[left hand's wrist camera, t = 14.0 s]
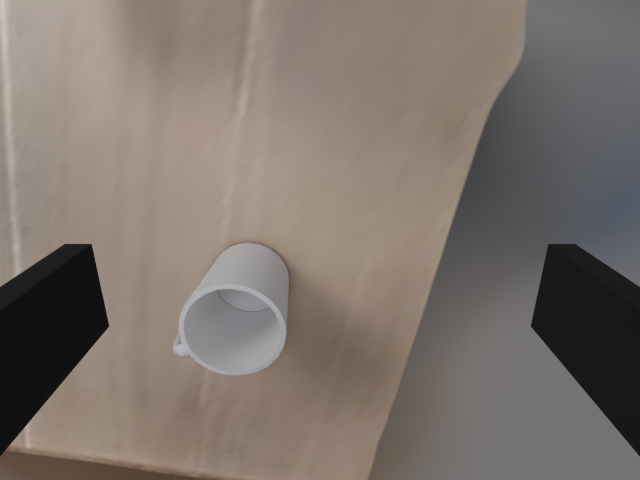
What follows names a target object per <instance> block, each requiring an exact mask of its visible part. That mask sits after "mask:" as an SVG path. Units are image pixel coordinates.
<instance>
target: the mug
mask: <svg viewBox="0 0 640 480" xmlns="http://www.w3.org/2000/svg"><path fill="white" fill-rule="evenodd" d="M288 292H289V273H288V269H287V266H286V264H285V262H284V260H283V259H282V258H281V257H280V255H279V254H278V253H276V252H275V251H274V250H272V249H271V248H269V247H267V246H265V245H262V244H259V243H253V242H245V243H238V244H236V245H233V246H230V247H229V248H227V249H226V250H224V251H223V252H222V253H221V254H220V256H219V257H218V258H217V259H216V261H215V262H214V264H213V265H212V267H211V268H210V269H209V271H208V272H207V274H206V275H205V277H204V278H203V279H202V281H201V282H200V284H199V285H198V287H197V288H196V289H195V291H194V292H193V294H192V295H191V297H190V298H189V299H188V301H187V302H186V304H185V305H184V307H183V310H182V312H181V315H180V317H179V329H178V330H179V334H178V336H177V337H176V339H175V341H174V344H173V350H174V353H175V354H177V355H178V356H188V355H190V356H191V357H192V358H193V359H194V360H195V361H196V362H198V363H199V364H201V365H202V366H204V367H205V368H207V369H209V370H212V371H215V372H217V373H220V374H226V375H233V376H236V375H248V374H251V373H255V372H258V371H261V370H262V369H264V368H266V367H267V366H269V365H271V364H272V363H273V361H274V360H275V359H276V358H277V357H278V356H279V355H280V353H281V351H282V349H283V347H284V344H285V338H286V332H287V313H288Z"/></svg>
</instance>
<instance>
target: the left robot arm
mask: <svg viewBox="0 0 640 480" xmlns="http://www.w3.org/2000/svg"><path fill="white" fill-rule="evenodd" d="M108 327H109V323H108V319H107V314H106V309H105V305H104V300H103V295H102V291H101V286H100V281H99V277H98V272H97V267H96V263H95V258H94V253H93V249H92V244H64V245H63V246H61V247H60V248H58V249H57V250H55V251H54V252H52V253H51V254H49V255H48V256H46V257H45V258H43V259H42V260H40V261H39V262H37V263H36V264H34V265H33V266H31V267H30V268H28V269H27V270H25V271H24V272H22V273H21V274H19V275H18V276H16V277H15V278H13V279H12V280H10V281H9V282H7V283H6V284H4V285H3V286H1V287H0V456H1V455H2V454H3V452H4V451H5V450H6V449H7V448H8V446H9V445H10V444H11V443H12V442H13V440H14V439H15V438H16V437H17V436H18V434H19V433H20V432H21V431H22V430H23V428H24V427H25V426H26V425H27V424H28V422H29V421H30V420H31V419H32V418H33V417H34V415H35V414H36V413H37V412H38V411H39V409H40V408H41V407H42V406H43V405H44V403H45V402H46V401H47V400H48V399H49V397H50V396H51V395H52V394H53V393H54V391H55V390H56V389H57V388H58V387H59V385H60V384H61V383H62V382H63V381H64V380H65V378H66V377H67V376H68V375H69V374H70V372H71V371H72V370H73V369H74V368H75V366H76V365H77V364H78V363H79V362H80V360H81V359H82V358H83V357H84V356H85V354H86V353H87V352H88V351H89V350H90V348H91V347H92V346H93V345H94V344H95V343H96V341H97V340H98V339H99V338H100V337H101V335H102V334H103V333H104V332H105V331H106V329H107V328H108ZM531 327H532V328H533V329H534V331H535V332H536V333H537V334H538V335H539V337H540V338H541V339H542V340H543V341H544V342H545V344H546V345H547V346H548V347H549V348H550V350H551V351H552V352H553V353H554V354H555V356H556V357H557V358H558V359H559V360H560V362H561V363H562V364H563V365H564V366H565V368H566V369H567V370H568V371H569V372H570V373H571V375H572V376H573V377H574V378H575V380H576V381H577V382H578V383H579V384H580V385H581V387H582V388H583V389H584V390H585V391H586V393H587V394H588V395H589V396H590V397H591V399H592V400H593V401H594V402H595V403H596V405H597V406H598V407H599V408H600V409H601V411H602V412H603V413H604V414H605V415H606V417H607V418H608V419H609V420H610V421H611V422H612V424H613V425H614V426H615V427H616V428H617V430H618V431H619V432H620V433H621V434H622V436H623V437H624V438H625V439H626V440H627V442H628V443H629V444H630V445H631V446H632V448H633V449H634V450H635V451H636V452H637V453H638V455H639V456H640V287H639V286H637V285H636V284H634V283H633V282H631V281H630V280H628V279H627V278H625V277H624V276H622V275H621V274H619V273H618V272H616V271H615V270H613V269H612V268H610V267H609V266H607V265H606V264H604V263H603V262H601V261H600V260H598V259H597V258H595V257H594V256H592V255H591V254H589V253H588V252H586V251H585V250H583V249H582V248H580V247H579V246H577V245H576V244H548V249H547V253H546V258H545V263H544V267H543V272H542V277H541V281H540V286H539V291H538V295H537V300H536V305H535V309H534V314H533V319H532V323H531Z"/></svg>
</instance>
